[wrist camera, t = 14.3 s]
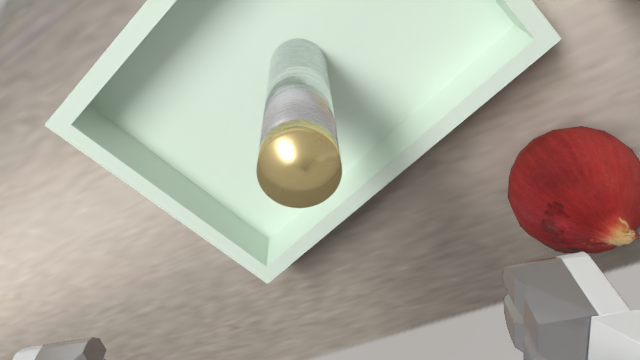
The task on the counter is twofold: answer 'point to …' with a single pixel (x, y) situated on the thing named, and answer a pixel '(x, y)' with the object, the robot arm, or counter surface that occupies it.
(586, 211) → the onion
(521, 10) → the tray
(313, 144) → the steel pin
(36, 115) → the counter surface
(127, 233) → the counter surface
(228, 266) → the counter surface
